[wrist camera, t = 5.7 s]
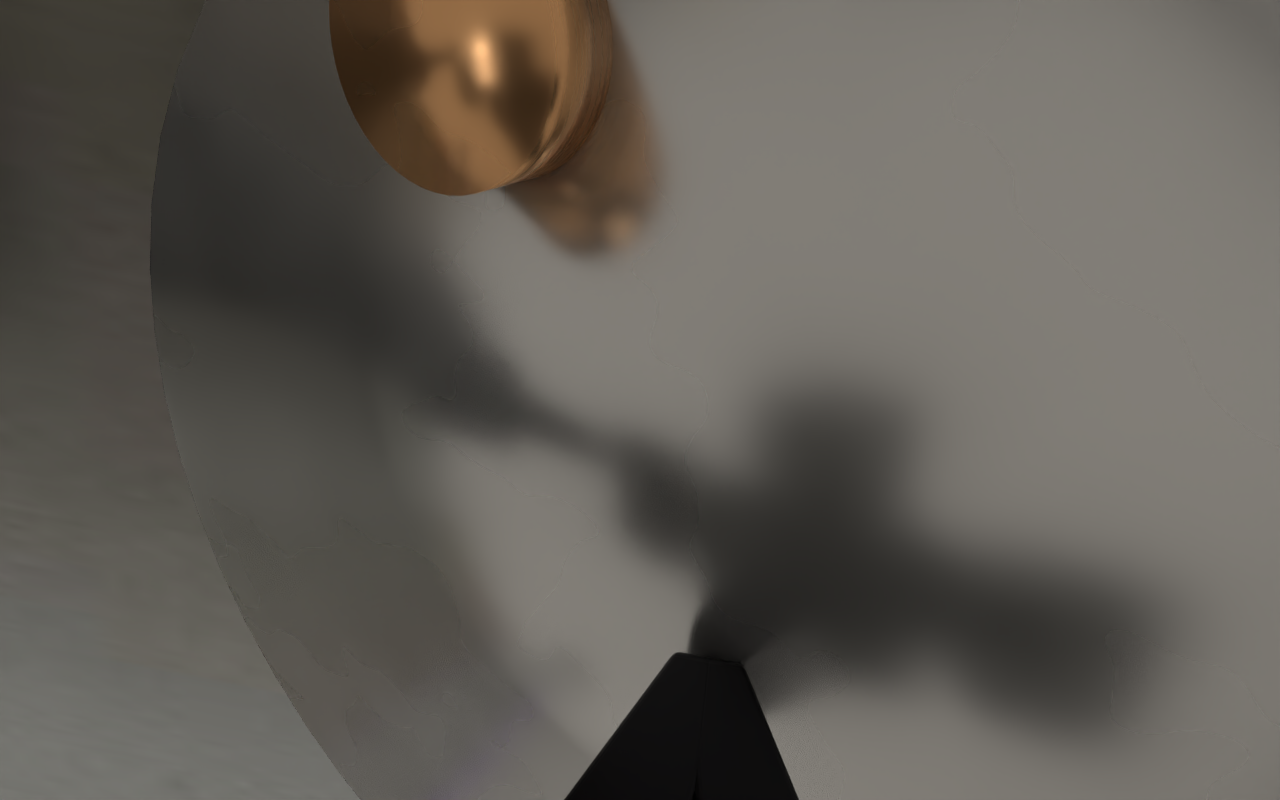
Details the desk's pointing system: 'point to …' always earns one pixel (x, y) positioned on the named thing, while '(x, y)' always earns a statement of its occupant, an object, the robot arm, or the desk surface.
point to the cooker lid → (741, 380)
